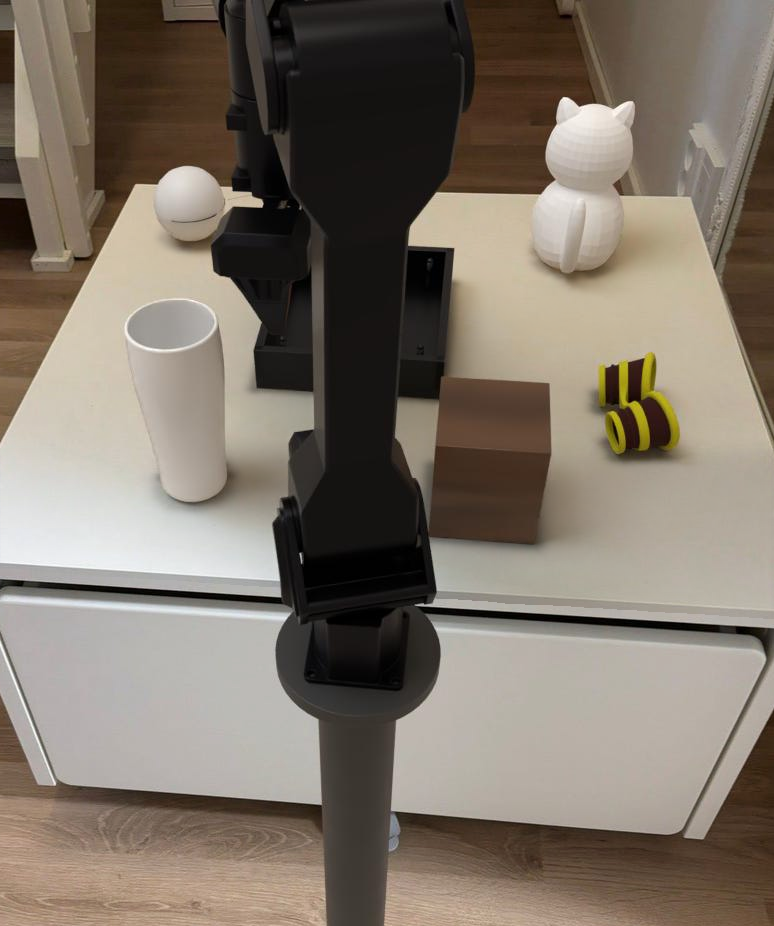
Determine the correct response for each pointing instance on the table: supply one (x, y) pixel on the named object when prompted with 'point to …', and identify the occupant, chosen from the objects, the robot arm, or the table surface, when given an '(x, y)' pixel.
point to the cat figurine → (583, 186)
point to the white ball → (189, 203)
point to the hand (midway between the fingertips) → (286, 298)
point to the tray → (422, 332)
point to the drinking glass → (181, 393)
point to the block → (490, 459)
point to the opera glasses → (636, 407)
